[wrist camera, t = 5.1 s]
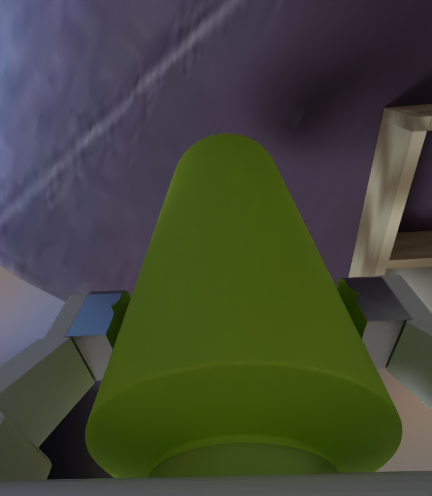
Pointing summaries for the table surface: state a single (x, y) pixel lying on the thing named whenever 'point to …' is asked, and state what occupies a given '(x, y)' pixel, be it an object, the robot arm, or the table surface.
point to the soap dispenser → (237, 340)
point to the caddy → (393, 196)
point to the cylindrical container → (417, 281)
